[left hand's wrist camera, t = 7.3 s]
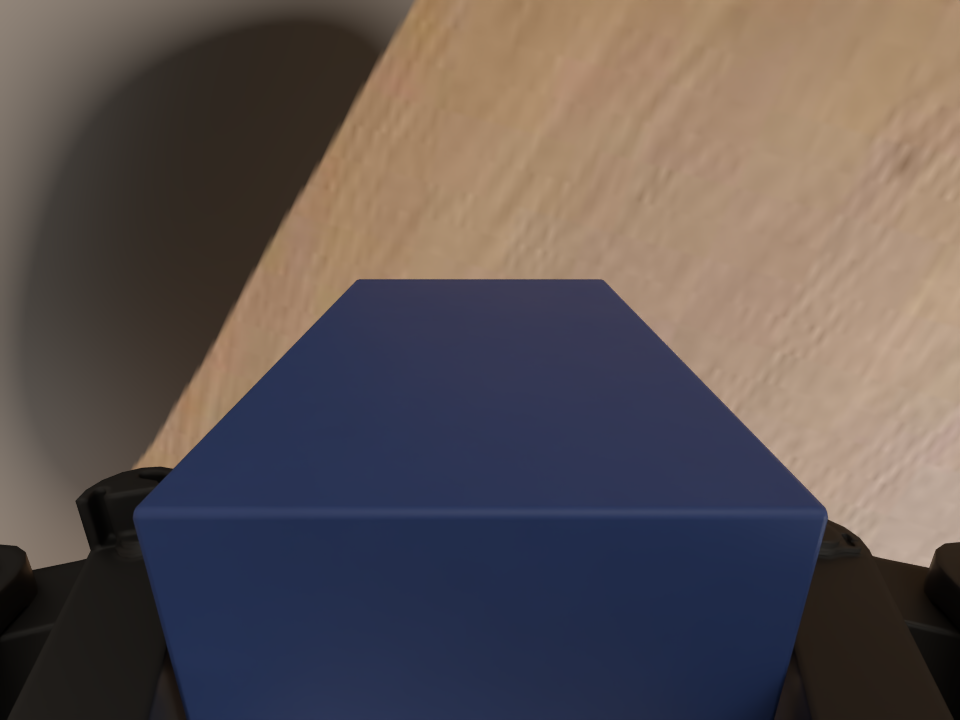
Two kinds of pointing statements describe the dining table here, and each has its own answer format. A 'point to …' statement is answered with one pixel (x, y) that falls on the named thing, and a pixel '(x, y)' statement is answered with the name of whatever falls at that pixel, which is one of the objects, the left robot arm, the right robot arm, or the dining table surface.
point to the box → (480, 523)
